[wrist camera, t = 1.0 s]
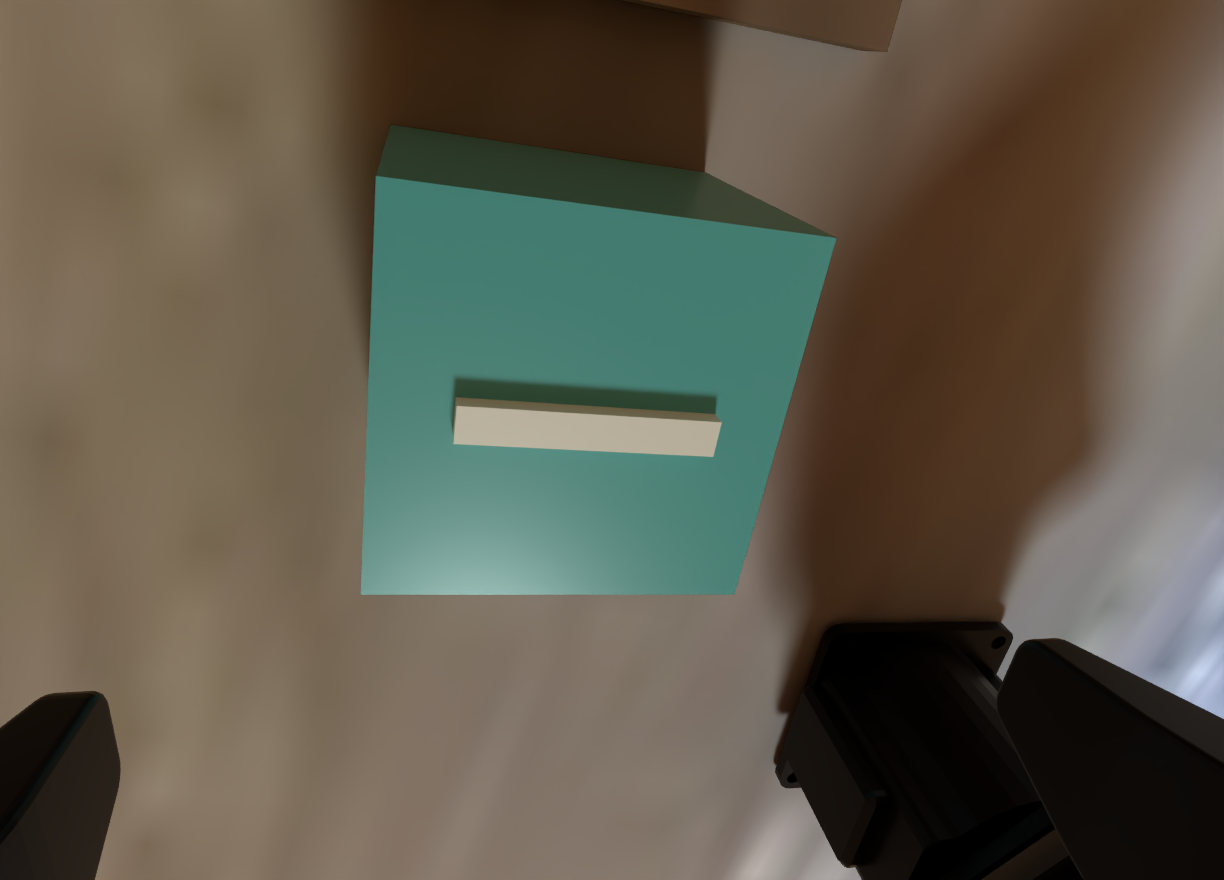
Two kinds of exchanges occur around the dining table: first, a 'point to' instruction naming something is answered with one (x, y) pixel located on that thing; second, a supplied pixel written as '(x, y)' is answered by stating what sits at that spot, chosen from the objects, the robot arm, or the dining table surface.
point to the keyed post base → (801, 18)
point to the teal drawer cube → (573, 370)
